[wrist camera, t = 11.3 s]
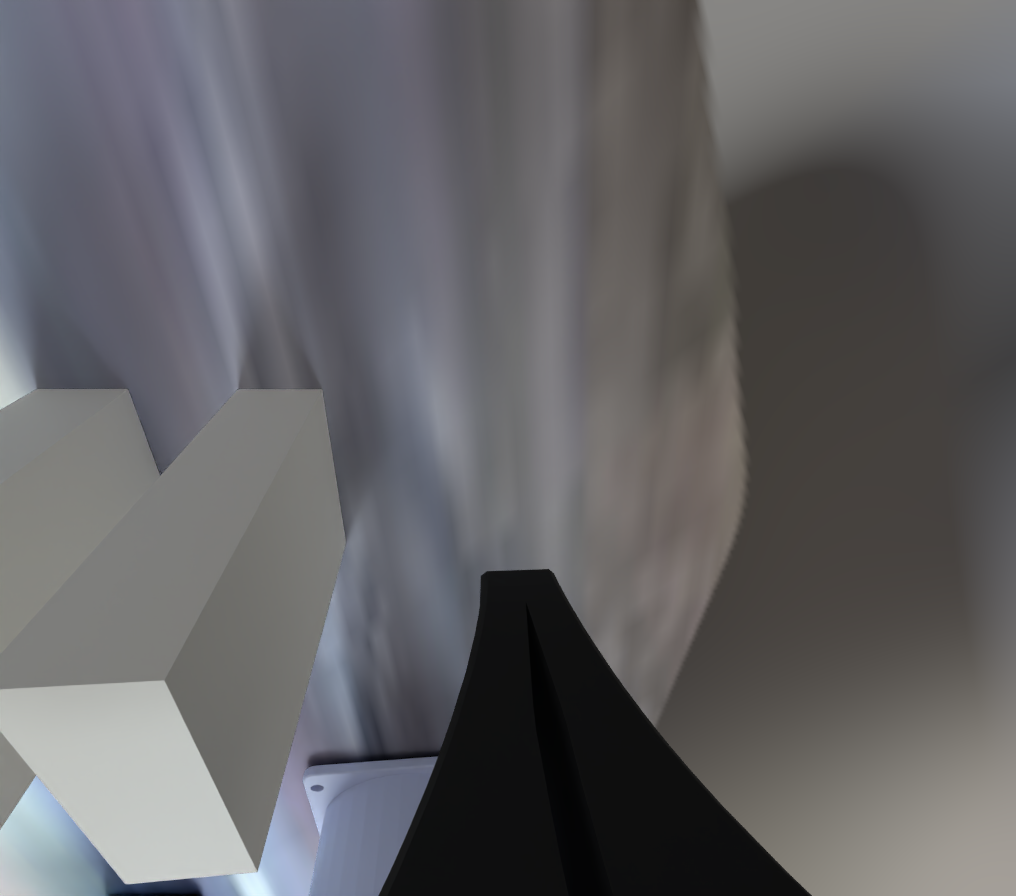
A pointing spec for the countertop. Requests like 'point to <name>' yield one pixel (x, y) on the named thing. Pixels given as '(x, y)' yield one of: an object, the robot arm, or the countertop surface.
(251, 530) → the tile
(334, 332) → the countertop surface
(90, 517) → the tile
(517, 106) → the countertop surface
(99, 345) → the countertop surface
